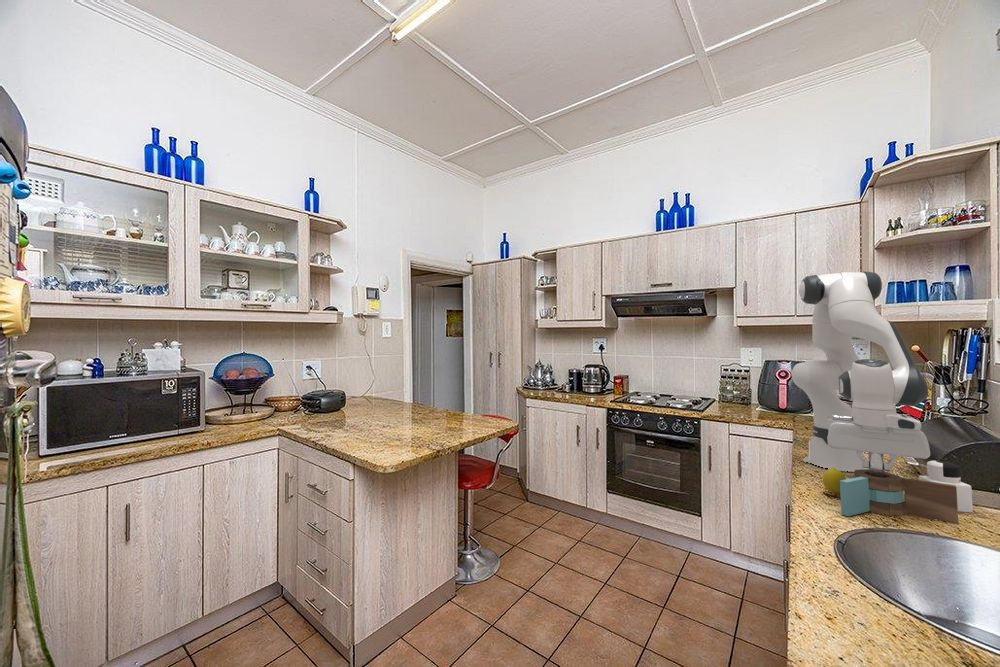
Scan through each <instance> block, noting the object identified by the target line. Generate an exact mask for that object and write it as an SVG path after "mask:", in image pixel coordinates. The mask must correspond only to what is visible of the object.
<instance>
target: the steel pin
mask: <svg viewBox="0 0 1000 667" xmlns="http://www.w3.org/2000/svg"><path fill="white" fill-rule="evenodd" d="M867 454H868V456H867V457H868V458H867V459H868V461H869V475H870V476H874V477H881V478H885V477H884V472H885V471H884V463H885V460H884V458H885V457H884V454H880V453H871V452H867Z"/></svg>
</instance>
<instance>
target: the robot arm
mask: <svg viewBox="0 0 1000 667" xmlns="http://www.w3.org/2000/svg"><path fill="white" fill-rule="evenodd" d="M800 282H801V283H800V284H799V288H798V294H799V296H800V299H801V301H802V302H803V303H805V304H809V305H813V312H812V328H811V329H812V331H811V333H812V338H811V339H812V340H811V342H812V344H813V346H815V347H816V348H817V349H819V350H821V351H823V353H824V354H825V357H826V360H808V361H803V362H799V363H796V364H795V365H794V366H793V368H792V370H791V374H790V375H791V379H792V381H793V383H794V384H795V385H796V386H797V387H798V388H800V389H801V390H802V391H803V392H804V393H805V394H806V395H807V396H808V398H809V401H810V403H811V406H812V410H813V412H812V413H813V422H814V423H813V425H812V435H813V436H812V438H810V440H808V445H807V446H808V456H806V457H803V459H802V462H803V461H804V463H806V462H808V463H807V464H810V463H812V464H814V465H813V466H815V465H817V466H816V467H818V466H820V467H819V468H821V467H823V468H822V469H825V468H828V469H827V470H829V469H832V468H835V469H837V470H839V471H840V472H847V471H848V472H849V473H851V472H853V473H855V470H862V469H868V470H869V460H865V459H864V452H865V453H868V452H871V453H880V454H883V455H888V458H889V460H888V461H887V462H884V472H892V471H893V470H892V469H893V468H892V466H893V465H894V464H895V463H896V461H897V460H898V457H899V456H900V457H907V458H915V459H924V460H926V459H928V458H930V456H931V450H930V444H929V441H928V438H927V436H926V435H925V433H924V432H923V431H922V430H921V429H922V423H921V421H920V420H918V419H916V418H913V417H910V416H907V415H903V414H899V413H897V405H898V406H905V407H914V406H917V405H919V404H921V403H923V402H924V401H925V400H926V399H927V398H928V396H929V386H928V384H927V381H926V380H925V378H924V376H923V374H922V373H921V372H920V370H919V369H918V367H917V366H916V363H915V362H914V360H913V357H912V356H911V353H910V351H909V349H908V347H907V345H906V342H905V341H904V338H903V337H902V335H901V333H900V331H899V330H898V328H897V326H896V325H895V323H894V322H893V321H891V320H887V319H885V318H884V317H882V315H880V313H879V312H878V311H877V309H876V306H875V302H874V301H875V300H876V299H878V298H879V297H880V296H881V293H882V289H883V282H882V278H881V276H880V275H879V274H877V272H873V271H860V272H859V271H858V272H857V271H841V272H840V271H839V272H833V273H824V274H812V275H809V276H805V277H804V278H803V279H802V280H801V281H800ZM852 338H858V339H861V340H866V341H869V342H872V343H875V344H877V345H878V346H880V347H882V349H883V350H884V351H885V353H886V356H887V358H888V360H889V362H888V361H886V360H882V359H875V358H866V359H865V358H863V359H861V358H860V357H859V356H858V354H857V353H856V351H855V349H854V346H853V345H854V344H853V339H852ZM892 369H893V370H892ZM837 391H838V392H839V395H840V396H842V397H843V398H844V399H846V400H847V401H850V402H852V404H851V405H850V404H848V403H847V402H844V401H842V400H841V399H840V397H839V396H838V393H837ZM897 456H898V457H897ZM812 464H811V465H812Z"/></svg>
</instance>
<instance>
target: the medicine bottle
mask: <svg viewBox="0 0 1000 667" xmlns="http://www.w3.org/2000/svg"><path fill="white" fill-rule="evenodd" d="M926 471H927V472H926V473H927V475H918V480H923V481H929V482H936V483H943V484H950V485H955V486H956V489H957V506H958V513H959V512H961V513H962V512H963V513H970V514H971V513H973V512H974V509H973V508H974V507H973V491H972V485H970V484H967V483H966V482H962V481H961V478H962V477H961V467H960V466H959V465H958V464H956V463H954V462H949V461H945V460H930V461H927V462H926Z"/></svg>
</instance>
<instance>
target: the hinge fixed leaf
mask: <svg viewBox="0 0 1000 667" xmlns="http://www.w3.org/2000/svg"><path fill="white" fill-rule="evenodd" d="M861 476H862V477H866V478H868V483H869V488H870V489H876V490H882V491H889V492H891V491H902V490H903V493H904V500H903V501H904V502H901V503H897V504H892V503H883V502H876V501H872V500H869V502H870V513H874V514H879V515H884V514H885V515H884V516H890V517H891V516H904V515H908V516H909V515H910V516H915V517H918V518H925V519H929V518H930V519H931V520H934V519H937V520H936V521H940V520H942V521H941V522H945V521H947V523H951V522H952V523H953V524H956V523H957V525H958V524H959V511H958V506H957V489H956V486H955V485H950V484H943V483H936V482H929V481H923V480H919V479H915V478H908V477H902V476H901V477H900V475H897V474H894V473H889V472H888V471H884V477H885V478H881V477H874V476H870V475H869V470H868V469H862V470H855V472H854V478H856V477H861Z"/></svg>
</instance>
